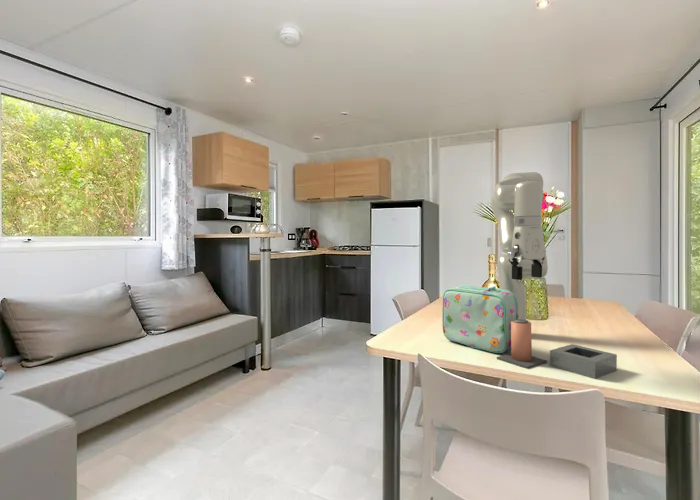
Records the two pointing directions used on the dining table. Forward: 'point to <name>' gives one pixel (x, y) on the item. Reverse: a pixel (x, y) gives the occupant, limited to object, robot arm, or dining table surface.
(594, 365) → the housing
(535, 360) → the mat
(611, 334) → the dining table surface
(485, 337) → the lunch box
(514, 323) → the orange cylinder
